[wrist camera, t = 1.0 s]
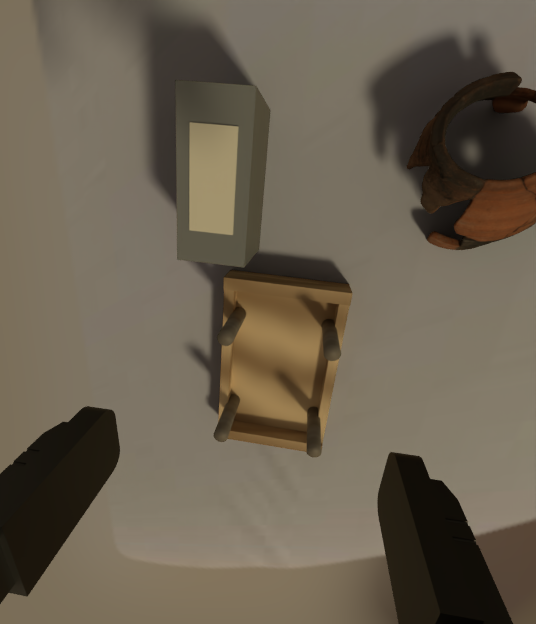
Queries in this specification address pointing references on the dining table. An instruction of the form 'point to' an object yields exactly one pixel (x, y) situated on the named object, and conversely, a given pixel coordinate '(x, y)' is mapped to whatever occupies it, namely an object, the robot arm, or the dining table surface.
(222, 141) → the block
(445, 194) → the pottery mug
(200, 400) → the dining table surface
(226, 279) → the pin tray
